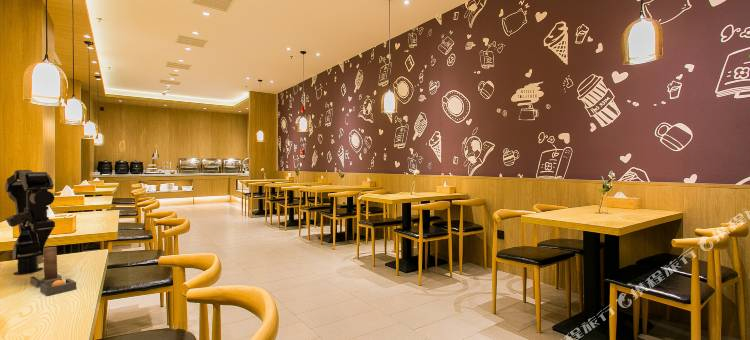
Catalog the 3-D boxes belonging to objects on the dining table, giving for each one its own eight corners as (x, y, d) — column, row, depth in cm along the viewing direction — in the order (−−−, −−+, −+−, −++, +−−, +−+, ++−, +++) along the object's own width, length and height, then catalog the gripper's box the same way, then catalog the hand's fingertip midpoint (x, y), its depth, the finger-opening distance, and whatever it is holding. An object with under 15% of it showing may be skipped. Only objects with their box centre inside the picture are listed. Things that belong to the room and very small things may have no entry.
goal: (40, 291, 127) (40, 284, 127) (69, 285, 134) (69, 278, 134) (46, 296, 123) (46, 288, 123) (76, 289, 130) (76, 282, 130)
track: (30, 283, 137) (30, 277, 136) (54, 278, 142) (54, 272, 142) (36, 287, 132) (36, 281, 132) (61, 282, 137) (61, 276, 137)
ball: (60, 292, 127) (57, 293, 129) (69, 282, 130) (66, 283, 132) (50, 286, 125) (47, 288, 127) (58, 277, 128) (55, 278, 130)
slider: (41, 284, 133) (40, 248, 133) (56, 281, 136) (55, 246, 136) (46, 288, 130) (44, 250, 129) (61, 284, 133) (60, 248, 133)
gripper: (1, 205, 140) (3, 246, 140) (14, 208, 129) (15, 252, 130) (40, 202, 149) (41, 240, 150) (54, 205, 138) (56, 246, 139)
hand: (38, 245), depth 142 cm, fingers open, 9 cm apart
